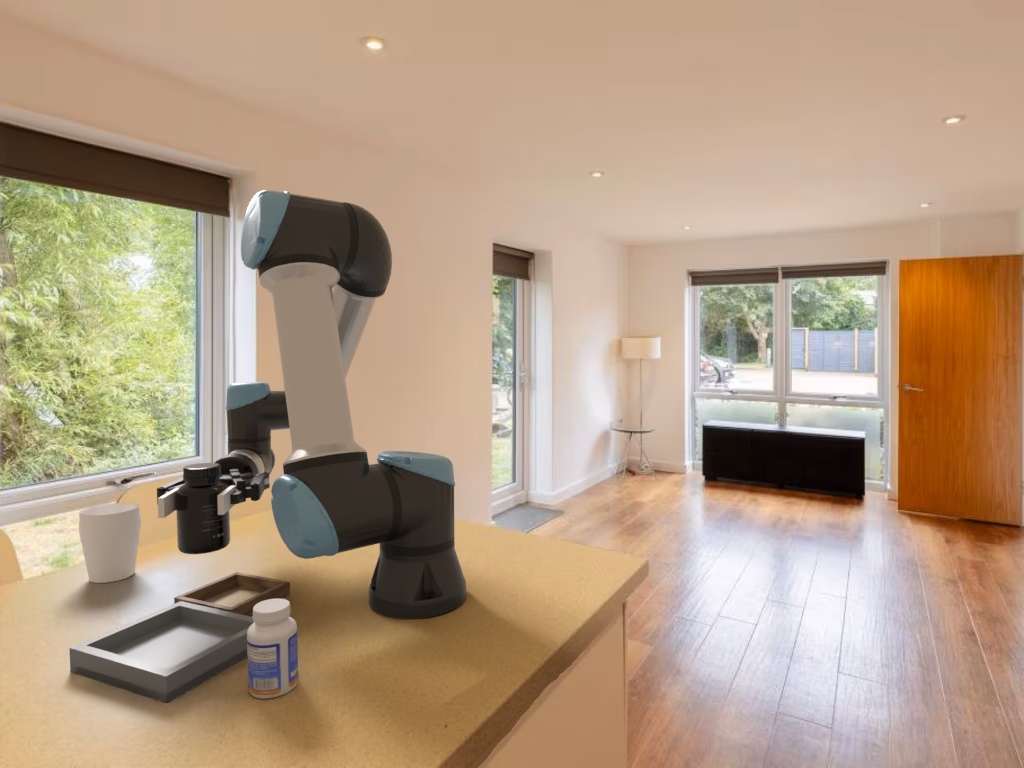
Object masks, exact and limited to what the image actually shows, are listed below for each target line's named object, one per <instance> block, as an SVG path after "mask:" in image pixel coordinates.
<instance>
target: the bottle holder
mask: <svg viewBox="0 0 1024 768" xmlns="http://www.w3.org/2000/svg"><path fill="white" fill-rule="evenodd" d="M235 587H238V588H245V589H250V590H255V591H260V593H258V594H256V595H254V596H252V597H249V598H247V599H245V600H243V601H241V602H238V603H237V604H235V605H233V606H228V605H224V604H219V603H215V602H209V601H206V600H208V599H211V598H213V597H214V596H217V595H220V594H222V593H224V592H226V591H229V590H231V589H234V588H235ZM289 595H291V581H287V580H281V579H276V578H270V577H266V576H259V575H256V574H251V573H250V574H249V573H244V572H237V571H236V572H234V573H231V574H228V575H226V576H224V577H222V578H220V579H217V580H214V581H211V582H209V583H207V584H205V585H202V586H200V587H197V588H194V589H192V590H190V591H187V592H185V593H183V594H180V595H177V596H175V597H174V599H173V601H174V603H173V604H175V603H178V602H180V601H182V602H187V603H191V604H196V605H201V606H205V607H210V608H214V609H219V610H223V611H228V612H232V613H237V614H241V615H246V616H250V615H251V614H253V607H254V606H255V605H256V604H257V603H259V602H261V601H264V600H269V599H284V598H285V597H287V596H289Z"/></svg>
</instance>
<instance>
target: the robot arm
mask: <svg viewBox="0 0 1024 768" xmlns="http://www.w3.org/2000/svg"><path fill="white" fill-rule="evenodd" d="M252 197H253V198H251V201H250V202H249V203H248V204H249V205H248V206H247V209H246V212H245V216H244V220H243V225H242V231H241V237H240V254H241V255H240V256H241V260H242V262H243V265H244V266H245V267H246V268H249V269H251V270H256V269H257V272H258V280H259V284H260V286H261V287H263V288H264V289H265V290H266V291H268V292H269V293H270V294H272V295H271V296H272V300H273V309H274V316H275V317H274V318H275V325H276V333H277V340H278V350H279V356H280V363H281V371H282V372H281V373H282V380H283V386H284V390H271V387H270V384H269V383H268V382H265V381H253V382H252V381H248V382H247V381H246V382H245V381H243V382H233V383H231V384H229V385H228V386H227V389H226V406H225V410H226V425H227V427H226V428H227V454H226V455H224V456H222V457H220V458H219V459H217V460H215V462H213V463H218V464H220V465H221V473H222V476H221V477H220V478H219V479H220V481H222V482H224V483H225V484H226V485H227V486H228V488H227V489H225V490H224V491H223V492H221V493H220V494H219V495H217V500H218V515H224V514H225V513H226V512H227V511H229V510H231V509H233V507H234V506H235V505H238V504H241V503H244V502H246V501H247V499H250V500H251V501H254V502H257V501H259V500H261V497H262V495H263V493H264V492H265V490H267V489H269V488H270V475H271V474H272V471H273V469H274V467H275V464H276V455H275V452H274V450H273V449H272V442H271V441H272V440H271V439H272V435H271V434H272V431H276V430H279V431H280V430H289V435H290V440H291V441H290V442H291V448H292V450H291V453H290V455H288V457H287V458H286V459H285V460H284V462H283V463H282V468H283V469H282V470H283V474H281V475H280V476H279V477H277V478H276V479H275V480H274V481H273V483H272V485H271V495H272V497H271V500H270V502H271V509H272V514H273V520H274V523H275V526H276V529H277V532H278V534H279V536H280V539H281V540H282V542H283V543H284V545H285V546H286V547H287V549H288V550H289V551H290V553H292V554H293V555H294V556H296V557H298V558H300V559H305V560H307V559H314V558H315V559H316V558H319V557H320V558H321V557H333V556H335V555H337V554H340V553H343V552H348V551H353V550H357V549H362V548H365V547H370V546H374V545H378V544H379V554H378V557H377V561H376V563H375V564H376V565H375V567H374V570H373V574H372V577H371V580H370V584H369V586H368V604H369V607H370V608H371V610H373V611H374V612H376V613H378V614H380V615H382V616H385V617H390V618H395V619H407V620H408V619H425V618H430V617H436V616H441V615H443V614H447V613H449V612H451V611H453V610H455V609H457V608H459V607H460V606H461V605H462V604H464V602H465V601H466V598H467V581H466V578H465V576H464V572H463V570H462V569H463V568H462V567H461V563H460V561H459V557H458V555H457V551H456V547H455V543H456V542H455V487H456V483H455V474H454V465H453V463H452V461H451V459H449V458H448V457H446V456H443V455H440V454H434V453H430V452H420V451H419V452H418V451H405V450H404V451H403V450H386V451H381V452H379V453H378V456H377V459H376V462H377V463H373V464H370V463H369V459H368V458H369V457H368V451H367V450H366V449H365V448H364V447H363V446H361V445H359V443H357V442H356V441H355V438H354V437H355V436H354V431H353V423H352V417H351V409H350V402H349V395H348V390H347V382H346V378H347V375H348V373H349V371H350V368H351V365H352V362H353V360H354V357H355V355H356V352H357V349H358V346H359V344H360V341H361V339H362V337H363V336H362V335H363V334H364V330H365V328H366V326H367V323H368V321H369V319H370V315H371V313H372V311H373V308H374V305H375V302H376V300H377V299H378V298H381V297H382V296H384V295H385V293H386V290H387V288H388V285H389V282H390V279H391V275H392V267H393V254H392V247H391V245H390V240H389V238H388V235H387V233H386V231H385V228H384V227H383V225H382V223H380V220H378V219H377V218H376V216H375V215H374V214H372V213H371V212H370V211H368V210H367V209H365V208H364V207H362V206H360V205H358V204H354V203H351V202H345V201H343V202H342V201H337V200H331V199H324V198H319V197H312V196H307V195H299V194H296V193H290V191H287V190H286V191H278V190H277V191H276V190H270V189H267V190H266V189H264V190H261V191H259V192H258V191H257V193H256V194H255V195H254V196H252ZM184 484H185V481H184V480H183V475H181V476H180V477H179V478H177V479H175V480H173V481H170V482H168V483H166V484H163V485H161V486H159V487H156V504H157V514H158V515H157V517H158V519H164V518H167V517H168V516H170V515H171V514H172V513H174V512H175V511H176V492H177V490H178V489H179V488H180V487H181V486H182V485H184Z"/></svg>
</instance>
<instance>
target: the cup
mask: <svg viewBox="0 0 1024 768" xmlns="http://www.w3.org/2000/svg"><path fill="white" fill-rule="evenodd" d="M78 517H79V520H78V533H79V538H80V542H81V547H82V552H83V556H84V563H85V566H86V571H87V575H88V579H89V580H88V581H90V582H91V583H94V584H105V583H106V584H107V583H108V582H109V583H115V582H119V581H123V580H125V579H127V578H129V577H131V576H133V575H134V574H135V573H136V566H137V557H138V551H139V542H140V533H141V526H142V518H141V509H140V504H139V503H135V502H117V503H115V502H114V503H107V504H101V505H95V506H90V507H88V508H84V509H82V510H80V511H79V515H78ZM122 579H123V580H122ZM114 581H115V582H114Z"/></svg>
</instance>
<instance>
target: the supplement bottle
mask: <svg viewBox="0 0 1024 768" xmlns="http://www.w3.org/2000/svg"><path fill="white" fill-rule="evenodd" d="M182 472H183V473H182V476H183V480H184V481H185V484H184V485H182V486H181V487H180V488H179V489H178V490H177V492H176V510H175V511H176V530H177V531H176V533H177V534H176V535H177V536H176V537H177V539H176V540H177V550H179V552H180V553H182V554H186V555H201V554H202V555H203V554H209V553H213V552H217V551H220V550H222V549H225V548H226V547H228V545H230V542H231V521H230V520H231V517H230V516H231V514H230V513H231V512H230V510H231V509H230V510H229V511H227V512H226V513H225V514H224V515H218V500H217V495H219V494H220V493H221V492H223V491H224V490H225V489H227V488H228V486H227V485H226V484H225V483H224V482H222V481H220V479H219V478H220V477H221V476H222V473H221V465H220V464H218V463H214V462H201V463H199V462H198V463H194V464H188V465H186V466H184V467H183V469H182Z"/></svg>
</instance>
